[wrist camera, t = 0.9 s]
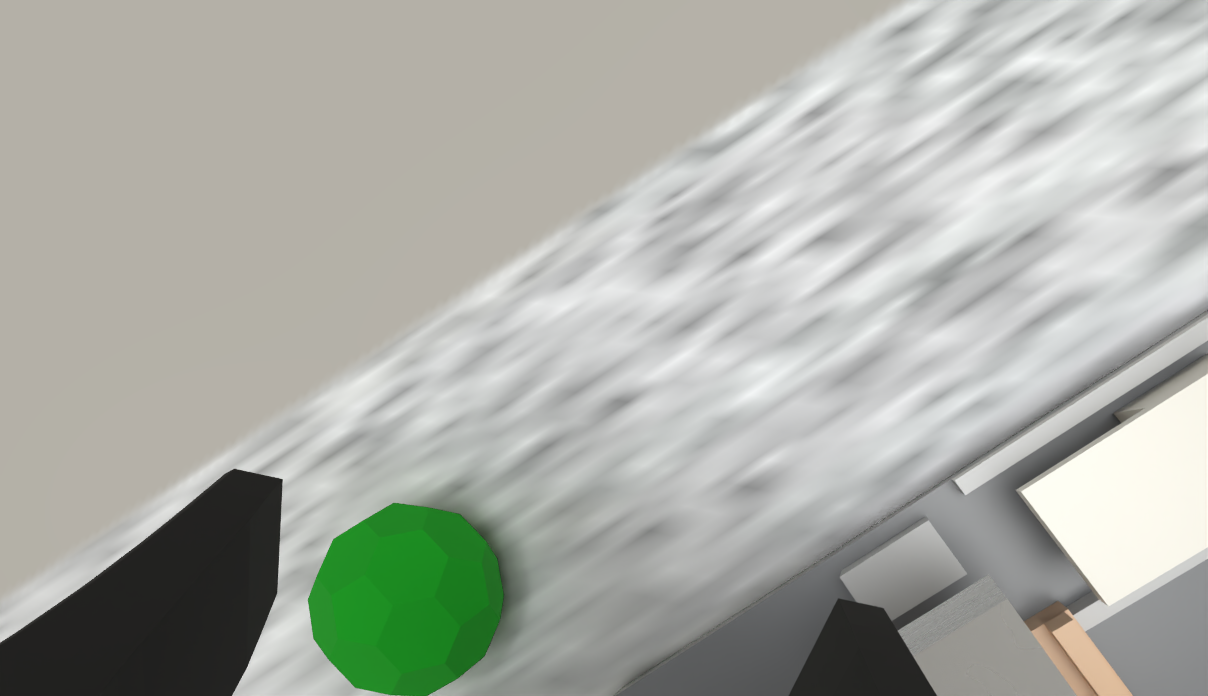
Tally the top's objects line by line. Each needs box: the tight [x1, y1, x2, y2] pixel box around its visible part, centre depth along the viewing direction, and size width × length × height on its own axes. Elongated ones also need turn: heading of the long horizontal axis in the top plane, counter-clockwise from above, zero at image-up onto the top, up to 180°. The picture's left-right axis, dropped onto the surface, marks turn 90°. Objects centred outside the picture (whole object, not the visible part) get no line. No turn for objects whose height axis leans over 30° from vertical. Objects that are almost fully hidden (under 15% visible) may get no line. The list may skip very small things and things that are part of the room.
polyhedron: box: [308, 503, 504, 696], centre depth 25 cm, size 5×5×5 cm
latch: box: [1016, 353, 1208, 606], centre depth 19 cm, size 3×5×4 cm, turn 124°
